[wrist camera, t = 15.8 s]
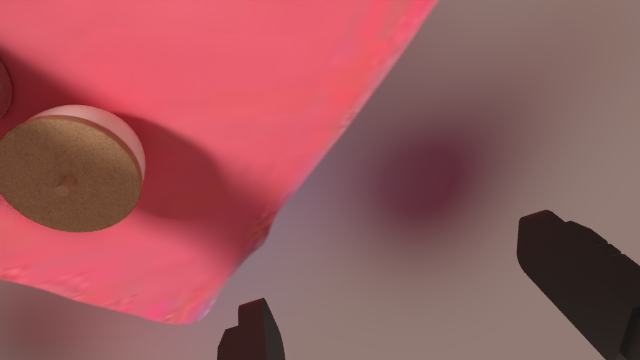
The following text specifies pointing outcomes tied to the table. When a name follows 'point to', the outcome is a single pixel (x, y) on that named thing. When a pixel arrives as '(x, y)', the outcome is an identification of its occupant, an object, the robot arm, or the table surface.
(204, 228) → the table surface
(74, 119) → the lidded jar
